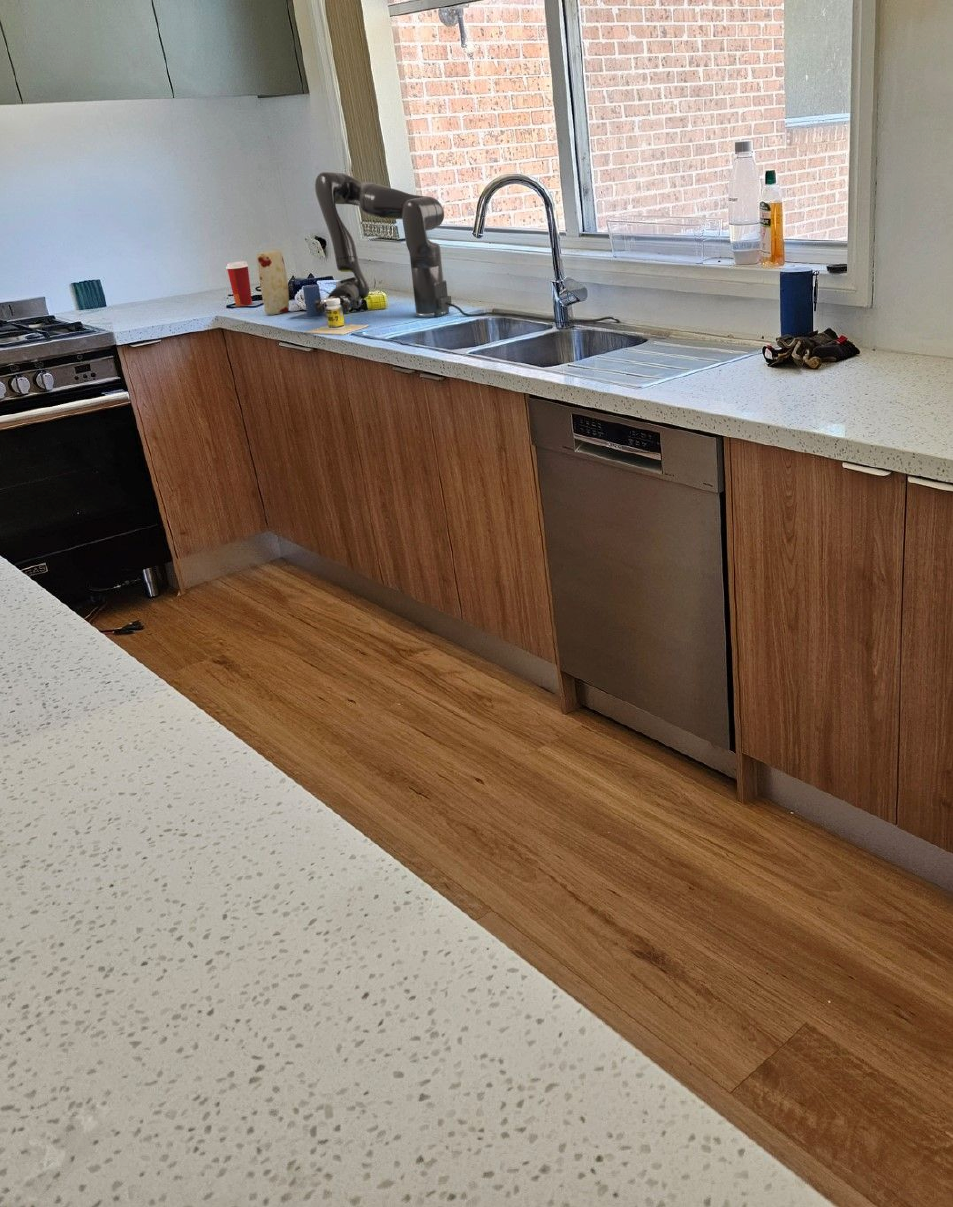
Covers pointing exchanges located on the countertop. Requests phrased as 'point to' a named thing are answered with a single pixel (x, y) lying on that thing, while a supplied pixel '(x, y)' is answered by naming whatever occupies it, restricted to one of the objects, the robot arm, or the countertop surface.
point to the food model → (273, 282)
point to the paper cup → (240, 282)
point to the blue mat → (304, 316)
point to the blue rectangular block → (311, 299)
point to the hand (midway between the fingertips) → (332, 308)
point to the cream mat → (345, 330)
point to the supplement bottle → (334, 314)
